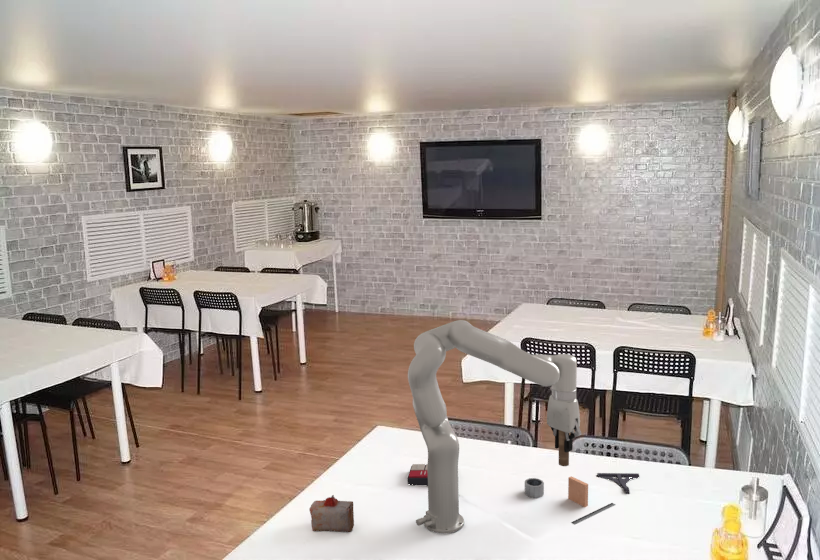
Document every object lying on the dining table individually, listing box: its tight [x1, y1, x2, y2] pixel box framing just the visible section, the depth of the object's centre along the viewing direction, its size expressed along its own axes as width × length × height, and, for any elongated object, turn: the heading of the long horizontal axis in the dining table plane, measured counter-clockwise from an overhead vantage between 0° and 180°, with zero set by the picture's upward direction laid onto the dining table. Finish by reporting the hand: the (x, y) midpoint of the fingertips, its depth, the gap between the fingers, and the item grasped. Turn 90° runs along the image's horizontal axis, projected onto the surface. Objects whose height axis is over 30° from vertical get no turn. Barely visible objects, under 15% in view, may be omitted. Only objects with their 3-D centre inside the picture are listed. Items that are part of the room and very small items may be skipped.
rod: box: [558, 430, 570, 467], centre depth 205 cm, size 3×3×14 cm
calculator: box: [406, 463, 428, 487], centre depth 233 cm, size 11×4×15 cm
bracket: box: [596, 472, 640, 495], centre depth 225 cm, size 14×15×3 cm
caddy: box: [524, 477, 545, 499], centre depth 218 cm, size 6×6×5 cm
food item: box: [309, 494, 355, 533], centre depth 201 cm, size 14×8×10 cm, turn 83°
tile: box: [567, 476, 589, 508], centre depth 211 cm, size 2×7×8 cm, turn 35°
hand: (563, 448), depth 205 cm, fingers closed on rod, 3 cm apart
